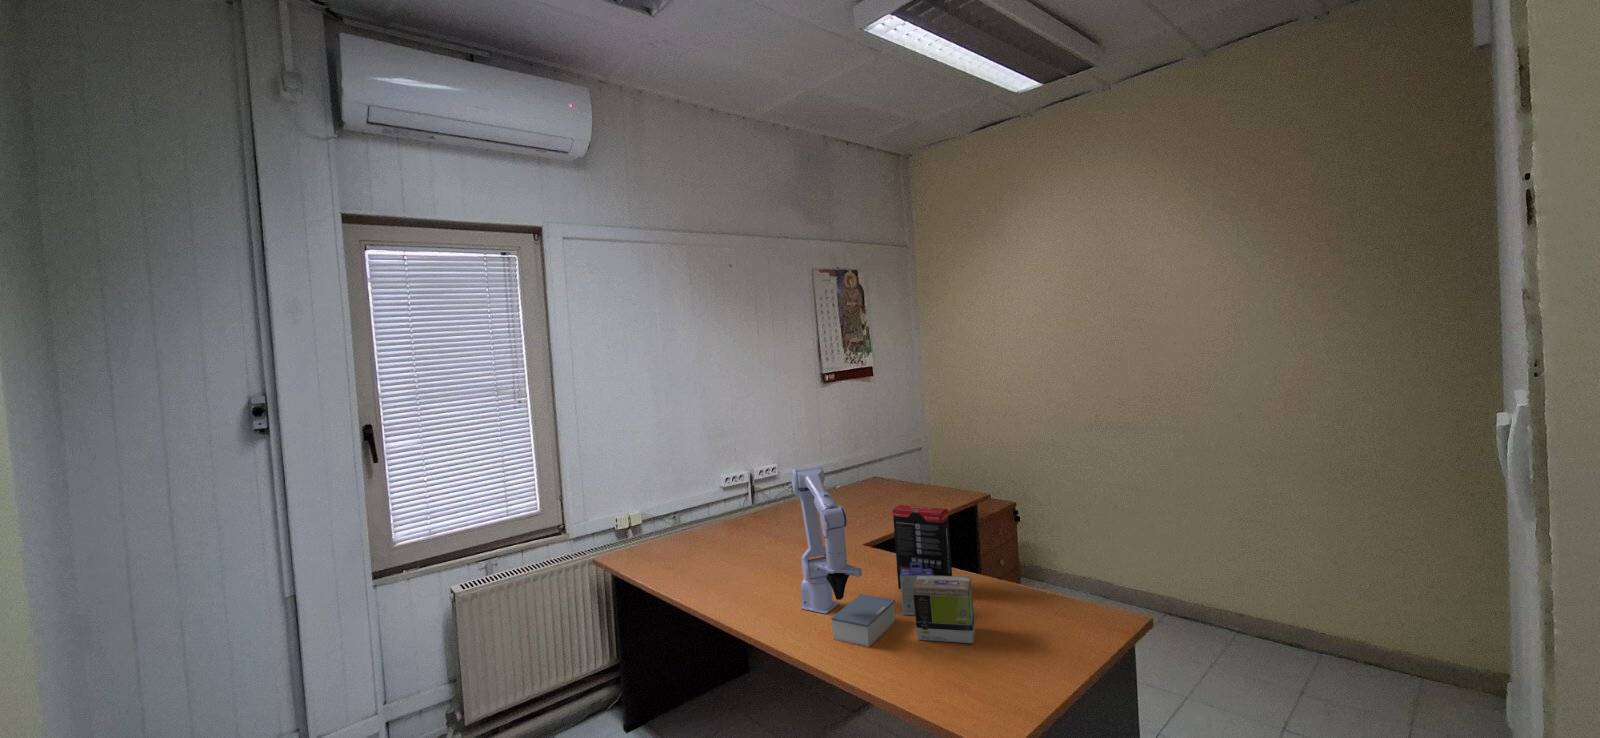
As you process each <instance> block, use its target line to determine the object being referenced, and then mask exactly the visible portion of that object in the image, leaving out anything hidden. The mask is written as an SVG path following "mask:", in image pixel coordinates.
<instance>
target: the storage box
mask: <svg viewBox="0 0 1600 738" xmlns="http://www.w3.org/2000/svg"><path fill="white" fill-rule="evenodd" d="M895 611H896V610H895V603H893V604H892V605H891V606H890V607H889V608H888V609H887V610H886V611H885V612H884V613H883V614H882V615H881V616H879V617H878V618H877V619H876V620H875V621H874V622H873V623H872V624H871V625H870V626H869V627H865V626H859V625H854V624H849V623H844V622H839V621H834V620H831V625H832V636H833V640H834V639H835V641H839V642H843V641H844V643H847V642H848V643H847V644H852V643H853V644H852V645H856V644H857V646H861V647H865V648H870V647H871V645H873V644H874V643H875V642H876V641H877V640H879V638H880V637H881V636H882V635H883V634H884V633H885V632H886V631H887V630H888V629H889V628H890V627H891V626H892V625H893V624H894V623H895V622H896V615H895ZM878 637H879V638H878ZM873 642H874V643H873Z"/></svg>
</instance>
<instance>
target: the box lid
mask: <svg viewBox="0 0 1600 738" xmlns="http://www.w3.org/2000/svg"><path fill="white" fill-rule="evenodd" d="M893 603H894V604H895V603H896V599H893V598H892V599H891V598H887V597H881V596H875V595H870V594H863V593H861V594H858V596H857V597H855V598H854V599H853V600H851V601H850V602H849V603H848V604H846V605H845V606H844V607H843V608H842V609H840V610H839V611H838V612H837V613H836V614H834V615H833V616H832V617H831V621H832V620H834V621H839V622H844V623H849V624H854V625H859V626H865V627H869V626H870V625H871V624H872V623H873V622H874V621H875V620H876V619H877V618H878V617H879V616H881V615H882V614H883V613H884V612H885V611H886V610H887V609H888V608H889V607H890V606H891V605H892V604H893Z"/></svg>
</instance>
